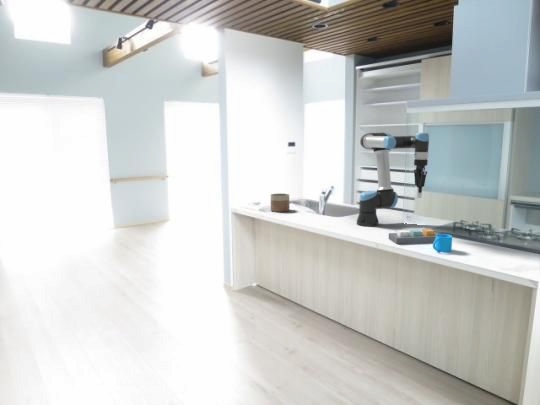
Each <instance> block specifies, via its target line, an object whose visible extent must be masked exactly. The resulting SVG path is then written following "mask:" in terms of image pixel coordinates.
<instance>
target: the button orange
mask: <svg viewBox="0 0 540 405" xmlns="http://www.w3.org/2000/svg"><path fill="white" fill-rule="evenodd" d="M422 232H423V234H424V235H426V236H431V235H434V232H435V230H433V229H431V228H425V229H422Z"/></svg>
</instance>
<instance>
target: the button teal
mask: <svg viewBox="0 0 540 405" xmlns="http://www.w3.org/2000/svg"><path fill="white" fill-rule="evenodd" d="M409 232H410V235H412V236H421V232H422V231H421V230H419V229H410V230H409Z"/></svg>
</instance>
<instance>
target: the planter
mask: <svg viewBox="0 0 540 405" xmlns="http://www.w3.org/2000/svg"><path fill="white" fill-rule="evenodd" d="M270 211H271V212H274V213H286V212H288V211H289V212H290V194H288V193H281V192H280V193H271V194H270Z"/></svg>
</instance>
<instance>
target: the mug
mask: <svg viewBox="0 0 540 405" xmlns="http://www.w3.org/2000/svg"><path fill="white" fill-rule="evenodd" d="M432 248H433V249H434V250H435V251H436V252H439V251H440V253H451V252H452V248H453V235H451V234H446V233H437V235H436V239H435V241H434V242H433V243H432Z"/></svg>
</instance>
